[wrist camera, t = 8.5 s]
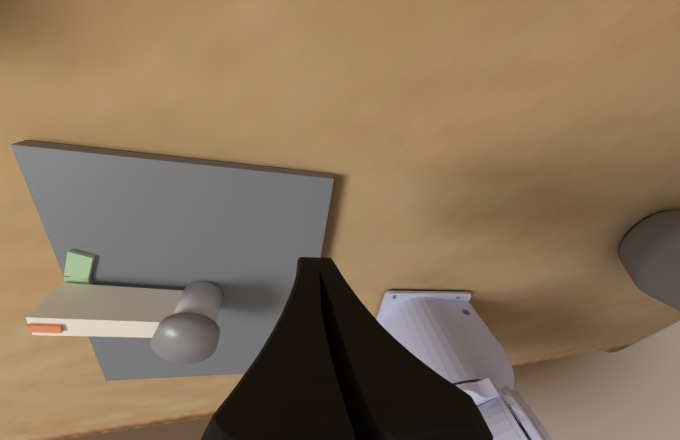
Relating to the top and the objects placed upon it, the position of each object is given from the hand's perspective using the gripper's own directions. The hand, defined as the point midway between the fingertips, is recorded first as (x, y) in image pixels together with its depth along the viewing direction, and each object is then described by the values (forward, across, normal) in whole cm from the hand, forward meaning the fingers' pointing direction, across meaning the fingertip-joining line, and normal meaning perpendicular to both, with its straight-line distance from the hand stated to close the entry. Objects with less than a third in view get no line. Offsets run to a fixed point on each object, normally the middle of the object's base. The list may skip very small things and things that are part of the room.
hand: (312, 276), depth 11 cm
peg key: (+9, +10, +10) cm, 17 cm away
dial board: (+10, +7, +10) cm, 16 cm away
